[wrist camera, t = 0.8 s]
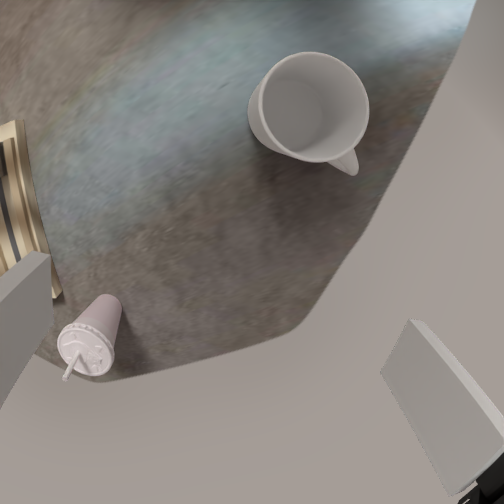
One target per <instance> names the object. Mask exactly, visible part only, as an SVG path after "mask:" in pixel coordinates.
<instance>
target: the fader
mask: <svg viewBox="0 0 504 504" xmlns="http://www.w3.org/2000/svg"><path fill="white" fill-rule="evenodd" d="M6 175H8V171H7V165H6V159H5V152H4V145H3V142H0V177H3V176H6Z"/></svg>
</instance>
